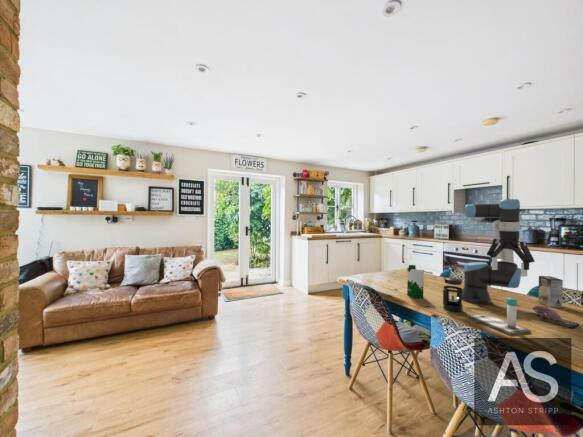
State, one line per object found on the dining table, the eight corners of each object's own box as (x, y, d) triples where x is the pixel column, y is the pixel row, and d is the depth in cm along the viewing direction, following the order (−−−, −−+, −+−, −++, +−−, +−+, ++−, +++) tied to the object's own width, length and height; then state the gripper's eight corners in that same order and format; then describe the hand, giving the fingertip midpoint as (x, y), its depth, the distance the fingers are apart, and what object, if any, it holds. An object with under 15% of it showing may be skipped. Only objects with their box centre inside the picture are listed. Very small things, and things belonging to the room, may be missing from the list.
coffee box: (537, 301, 153) (537, 275, 153) (550, 302, 151) (550, 276, 151) (549, 307, 144) (550, 279, 144) (563, 307, 142) (563, 279, 142)
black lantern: (451, 305, 145) (452, 265, 145) (468, 311, 136) (468, 269, 136) (436, 307, 141) (437, 267, 141) (452, 313, 132) (452, 270, 132)
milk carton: (405, 294, 167) (405, 264, 167) (419, 294, 166) (419, 264, 166) (411, 298, 158) (411, 266, 158) (425, 298, 158) (426, 266, 158)
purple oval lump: (534, 317, 133) (529, 305, 132) (541, 312, 133) (536, 301, 133) (556, 325, 123) (551, 312, 123) (563, 320, 123) (558, 308, 123)
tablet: (467, 317, 127) (467, 315, 127) (486, 315, 130) (486, 313, 130) (509, 335, 108) (509, 332, 108) (530, 332, 111) (530, 329, 111)
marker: (504, 326, 114) (504, 298, 114) (510, 325, 115) (510, 297, 115) (512, 329, 111) (513, 300, 111) (518, 329, 111) (518, 299, 111)
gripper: (478, 228, 135) (478, 267, 136) (533, 232, 111) (532, 280, 112) (489, 228, 137) (489, 266, 138) (545, 232, 113) (544, 278, 113)
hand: (508, 272), depth 125 cm, fingers open, 13 cm apart
